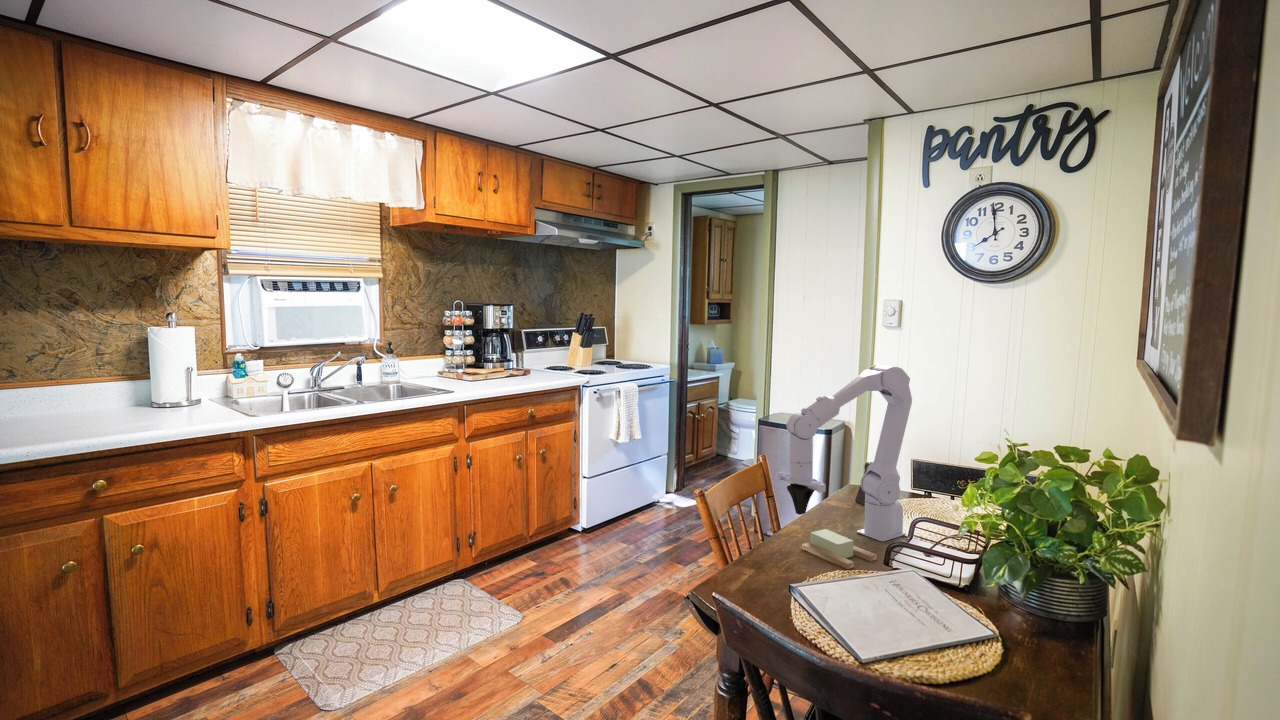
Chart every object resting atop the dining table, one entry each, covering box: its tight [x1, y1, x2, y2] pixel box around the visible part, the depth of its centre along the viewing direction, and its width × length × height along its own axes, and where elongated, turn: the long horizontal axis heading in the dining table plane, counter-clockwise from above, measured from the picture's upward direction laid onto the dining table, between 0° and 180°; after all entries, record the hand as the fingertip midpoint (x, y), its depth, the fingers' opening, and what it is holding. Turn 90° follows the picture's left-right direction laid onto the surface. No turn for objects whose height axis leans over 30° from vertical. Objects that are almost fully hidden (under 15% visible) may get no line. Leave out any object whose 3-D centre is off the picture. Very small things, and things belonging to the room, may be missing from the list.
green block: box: [809, 528, 854, 559], centre depth 145 cm, size 5×9×4 cm, turn 27°
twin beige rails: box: [801, 542, 877, 570], centre depth 143 cm, size 10×14×1 cm
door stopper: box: [854, 461, 872, 507], centre depth 181 cm, size 9×6×12 cm, turn 102°
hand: (800, 513), depth 153 cm, fingers closed
